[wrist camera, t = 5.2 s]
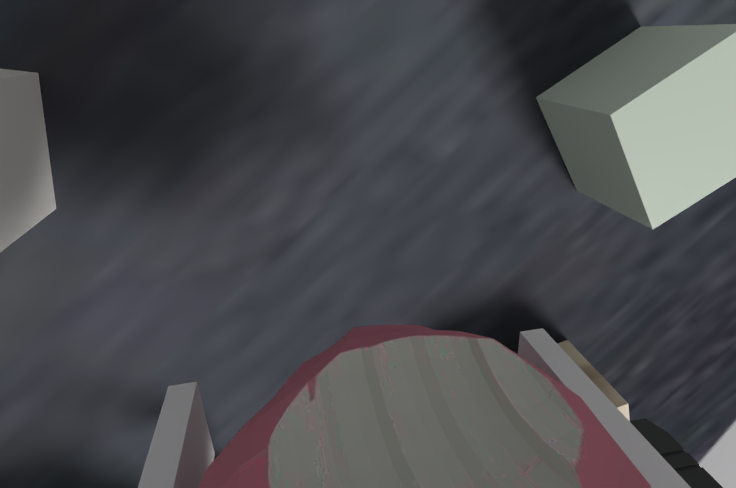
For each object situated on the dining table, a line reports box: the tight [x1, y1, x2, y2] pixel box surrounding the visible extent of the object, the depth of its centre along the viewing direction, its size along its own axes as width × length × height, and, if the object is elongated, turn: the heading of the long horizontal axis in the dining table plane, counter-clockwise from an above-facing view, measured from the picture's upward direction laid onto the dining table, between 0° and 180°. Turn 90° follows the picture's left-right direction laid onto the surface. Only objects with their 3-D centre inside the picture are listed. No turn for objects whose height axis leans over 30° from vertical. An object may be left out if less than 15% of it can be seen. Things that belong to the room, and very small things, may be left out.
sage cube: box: [536, 24, 736, 229], centre depth 18 cm, size 5×5×5 cm
